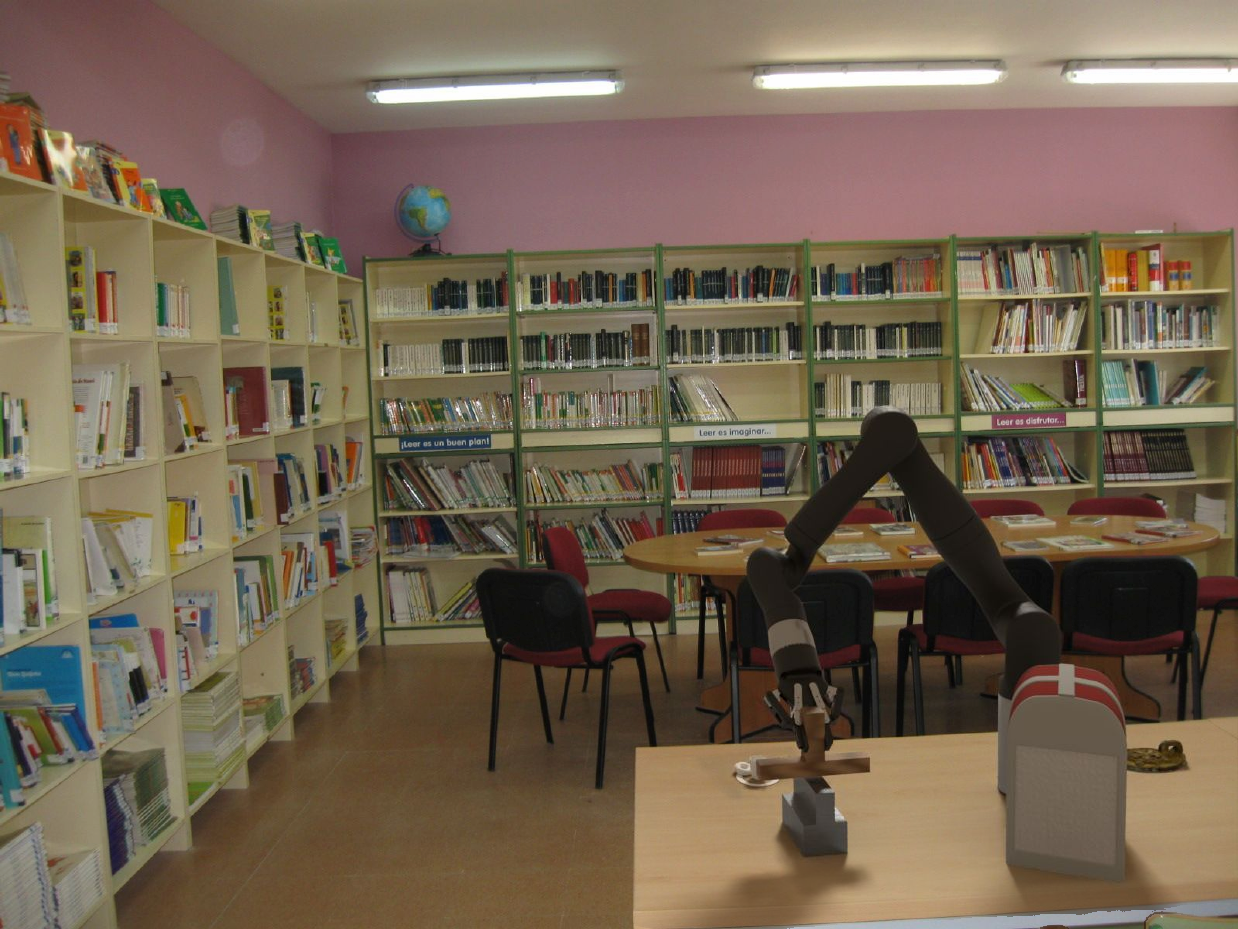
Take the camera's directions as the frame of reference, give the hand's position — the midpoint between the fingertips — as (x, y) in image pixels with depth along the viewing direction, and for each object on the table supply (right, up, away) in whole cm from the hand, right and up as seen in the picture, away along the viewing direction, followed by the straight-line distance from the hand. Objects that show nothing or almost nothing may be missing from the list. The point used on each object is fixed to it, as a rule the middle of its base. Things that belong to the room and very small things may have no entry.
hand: (816, 749), depth 158 cm
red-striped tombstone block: (+38, -15, -2) cm, 41 cm away
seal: (+67, -11, +30) cm, 74 cm away
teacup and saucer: (-4, -13, +30) cm, 33 cm away
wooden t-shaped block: (0, -5, +3) cm, 5 cm away
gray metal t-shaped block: (0, -15, +3) cm, 16 cm away
